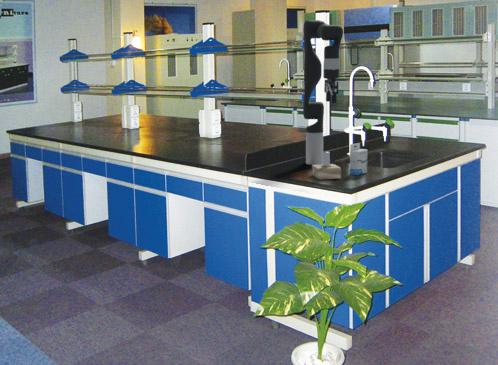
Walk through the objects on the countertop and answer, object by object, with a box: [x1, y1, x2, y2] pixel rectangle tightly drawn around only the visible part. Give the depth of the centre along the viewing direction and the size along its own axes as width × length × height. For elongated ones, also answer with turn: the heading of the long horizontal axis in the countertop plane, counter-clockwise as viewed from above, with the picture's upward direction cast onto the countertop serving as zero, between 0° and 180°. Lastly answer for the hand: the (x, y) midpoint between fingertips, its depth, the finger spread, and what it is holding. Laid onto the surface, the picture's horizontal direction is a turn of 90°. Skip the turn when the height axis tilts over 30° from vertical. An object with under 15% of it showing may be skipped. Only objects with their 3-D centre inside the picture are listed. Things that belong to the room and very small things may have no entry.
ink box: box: [349, 142, 369, 176], centre depth 298 cm, size 9×5×15 cm, turn 136°
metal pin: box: [323, 151, 331, 167], centre depth 292 cm, size 3×3×12 cm
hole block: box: [311, 163, 342, 180], centre depth 293 cm, size 11×11×5 cm
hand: (331, 102), depth 293 cm, fingers open, 8 cm apart
